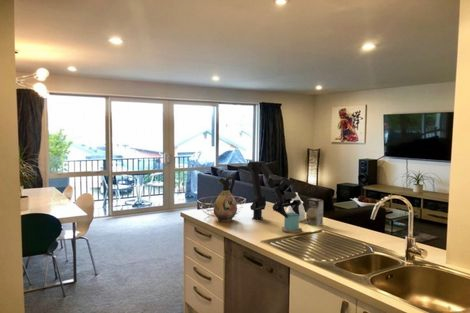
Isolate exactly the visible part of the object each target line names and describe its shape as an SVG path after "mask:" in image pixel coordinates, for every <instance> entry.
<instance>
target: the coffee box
mask: <svg viewBox="0 0 470 313" xmlns="http://www.w3.org/2000/svg"><path fill="white" fill-rule="evenodd" d="M323 220H324V200H323V199H319V198H315V197H310V198H306V211H305V223H306V224H307V225H310V226H311V225H312V226H316V227H319V226H322V225H323V224H324V223H323V222H324V221H323Z"/></svg>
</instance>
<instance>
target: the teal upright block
mask: <svg viewBox="0 0 470 313" xmlns="http://www.w3.org/2000/svg"><path fill="white" fill-rule="evenodd" d="M286 214H287V216H288V218H286V217H284V222H283V224H284V226H283V227H284V228H285V229H287V230H290V231H292V230H298V229H299V228H300V226H299V225H300V221H299V214H296V213H286Z"/></svg>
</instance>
